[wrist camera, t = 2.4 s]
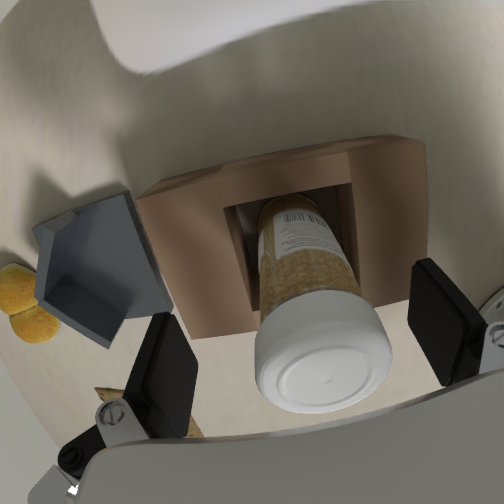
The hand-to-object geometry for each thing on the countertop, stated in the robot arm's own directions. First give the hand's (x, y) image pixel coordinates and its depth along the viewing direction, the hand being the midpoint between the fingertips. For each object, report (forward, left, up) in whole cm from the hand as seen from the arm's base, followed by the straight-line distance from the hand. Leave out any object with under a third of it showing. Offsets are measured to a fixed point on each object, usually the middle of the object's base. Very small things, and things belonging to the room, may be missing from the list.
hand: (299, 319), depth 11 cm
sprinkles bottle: (-1, 0, -11) cm, 11 cm away
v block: (+14, 0, -11) cm, 18 cm away
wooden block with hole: (-1, 0, -11) cm, 11 cm away
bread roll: (+26, +3, -11) cm, 29 cm away
